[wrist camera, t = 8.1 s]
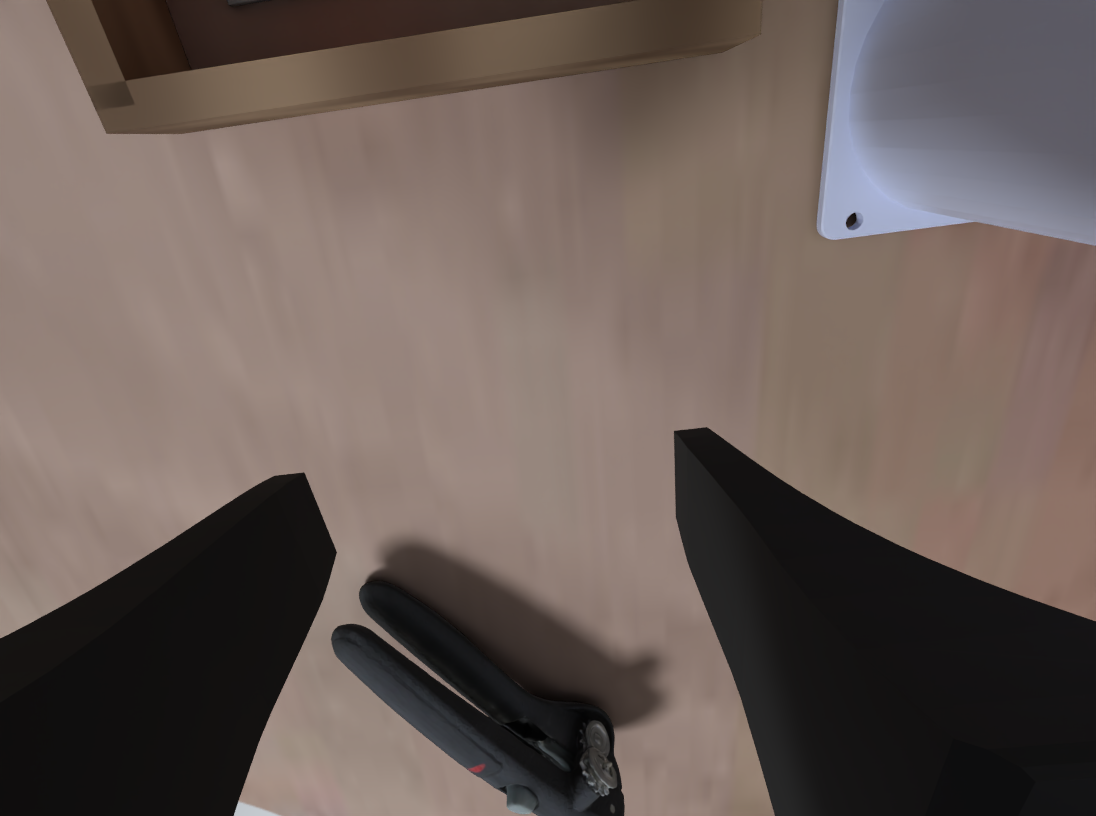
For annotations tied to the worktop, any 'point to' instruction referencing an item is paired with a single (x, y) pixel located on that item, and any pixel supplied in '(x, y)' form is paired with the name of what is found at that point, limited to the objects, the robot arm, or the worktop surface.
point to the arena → (369, 60)
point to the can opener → (467, 734)
